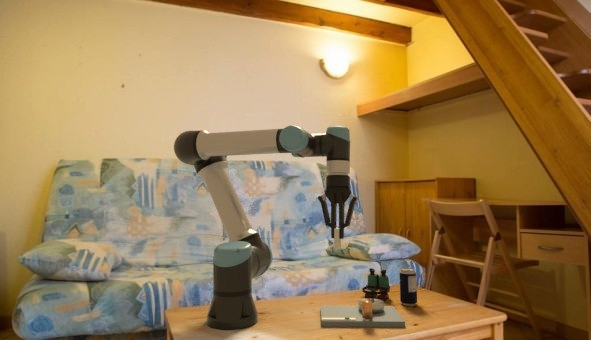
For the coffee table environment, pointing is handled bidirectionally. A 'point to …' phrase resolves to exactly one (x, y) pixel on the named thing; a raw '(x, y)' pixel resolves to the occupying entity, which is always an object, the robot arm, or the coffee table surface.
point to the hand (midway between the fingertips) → (337, 248)
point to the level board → (359, 317)
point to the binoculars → (377, 285)
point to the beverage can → (408, 287)
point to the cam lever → (370, 307)
